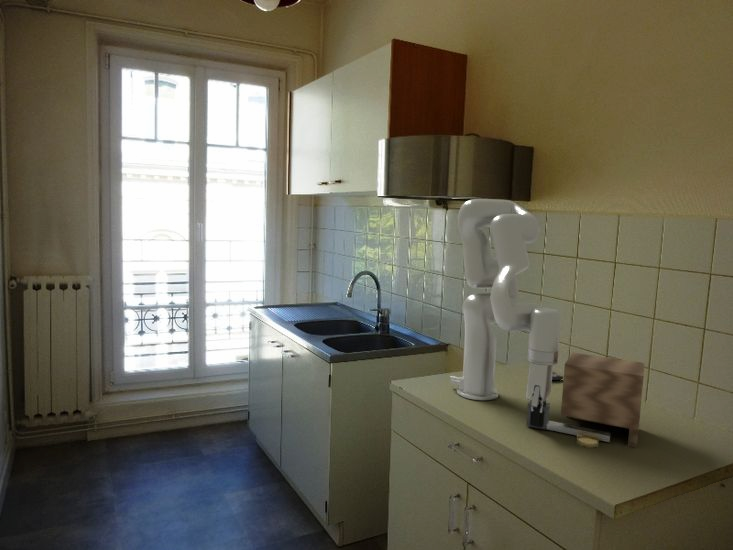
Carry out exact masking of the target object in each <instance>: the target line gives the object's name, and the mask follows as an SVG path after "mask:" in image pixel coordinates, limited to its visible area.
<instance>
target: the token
mask: <svg viewBox="0 0 733 550" xmlns="http://www.w3.org/2000/svg"><path fill="white" fill-rule="evenodd" d="M599 442H600V440H599V438H598V437H597V436H596V435H593V434H590V433H578V434H577V435H576V444H577V445H579V444H580V445H579V446H581V445H582V446H581V447H583V446H586V447H585V448H588V447H596V448H598V447H599ZM597 446H598V447H597Z"/></svg>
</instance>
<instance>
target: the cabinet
mask: <svg viewBox="0 0 733 550" xmlns="http://www.w3.org/2000/svg"><path fill="white" fill-rule="evenodd" d="M645 365H646V363H645V362H640V361H634V360H628V359H620V358H613V357H612V358H611V357H606V356H600V355H599V356H598V355H591V354H585V353H579V352H571V354H570V355H569V357H568V358H567V360H566V361H565V363H564V371H563V380H562V382H563V383H562V395H561V396H562V397H561V409H560V416H563V417H566V418H568V417H569V419H574V420H579V421H585V422H590V423H596V424H599V425H604V424H605V426H609V427H615V428H618V429H619V428H620V429H625V430H626V429H627V430H628V431H629V432H628V439H627V446H628V447H630V446H632V447H631V448H635V447H636V448H637V449H638V439H639V428H640V420H641V419H640V418H641V406H642V399H643V398H642V397H643V388H644V387H643V385H644V377H645V375H644V374H645Z"/></svg>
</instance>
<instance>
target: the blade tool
mask: <svg viewBox="0 0 733 550" xmlns="http://www.w3.org/2000/svg"><path fill="white" fill-rule="evenodd" d="M539 404H540V406H541V403H539ZM531 406H532V399H529V401H528V403H527V411H526V427H531V428H536V429H540V430H548V431H555V432H559V433H562V434H569V435H573V436H577V434H578V433H590V434H593V435H596V436H597V437H598V438H599V441H603V442H606V443H607V442H608V443H610V442H611V434H612V433H611V432H608V431H605V430H604V431H603V430H599V429H594V428H588V427H582V426H577V425H572V424H568V423H563V422H558V421H553V420H550V410H551V409H550V407H551V403H549V402H547V403H545V402H544V403H543V412H544V418H543V427H542V428H540V427H536V426H531V425H530V415H531Z"/></svg>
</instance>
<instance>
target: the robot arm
mask: <svg viewBox="0 0 733 550" xmlns="http://www.w3.org/2000/svg"><path fill="white" fill-rule="evenodd" d="M457 225H458V232H459V234H460V235H459V237H460V239H461V243H462V246H463V247H462V248H463V249H462V250H463V262H464V273H465V280H466V284H467V285H468V286H469V287H470V288H472V289H491V292H478V293H472V294H470V295H468V296H467V297H466V298H465V299H464V302H463V305H462V311H463V312H462V313H463V321H464V346H463V347H464V349H463V364H462V365H463V367H462V376H460V377H458V376H454V375H450V377H449V382H450V383H451V385H457V386H458V387H457V388H456V393H457V394H458V395H459V396H460V397H463V398H465V399H469V400H474V401H491V400H495V399H497V398H498V397H499V391H498V390H497V389H496V388H494V386H495V368H496V356H497V355H496V353H497V352H496V351H497V336H496V334H495V331H494V330H493V328H492V325H495V324H496V325H497V327H498V328H499V329H500V330H502V331H504V332H524V331H525V332H528V348H527V361H528V362H530V363H529V369H528V375H527V383H526V385H527V386H526V390H525V391H526V393H525V399H526V400H529V401H530V400H532V406H531V415H530V425H531V426H536V427H540V428H542V427H543V418H544V412H543V403H544V402H545V403H548V398H549V396H550V394H551V391H552V383H553V381H552V373H553V372H554V371H553V370H554V365H555V366H556V364H558V362H559V350H560V349H559V348H560V337H561V324H562V314H561V312H560V311H559V310H558V309H555V308H551V307H546V306H544V305H543V304H541V303H538V302H520V299H519V298H520V297H519V295H520V294H519V285H518V278H517V275H519V274H521V273H523V272H525V271H526V270H527V269H529V267H530V265H531V262H530V258H529V254H528V250H527V246H526V244H532V243H534V242H536V241H537V240H538V238H539V237H540V232H541V228H540V227H541V226H540V224H539V221H538V219H537V218H536V217H535V216H534V215H533V214H532V213H531V212H530V211H528V210H527V209H525V208H523V206H521V205H519V204H518V203H516V202H514V201H512V200H508V199H495V198H494V199H493V198H492V199H491V198H474V199H469V200H467V201H465V202H464V203H462V205H461V206H460V208H459V210H458V215H457ZM483 228H489V230H490V234H491V239H492V242H493V247H494V248H493V249H494V251H495V257H493V252H492V242H491V240H490V238H489V236H488V235H487V233H486V232H485V231H484V230H483ZM539 403H541V406H540V404H539ZM540 428H539V429H540Z"/></svg>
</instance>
